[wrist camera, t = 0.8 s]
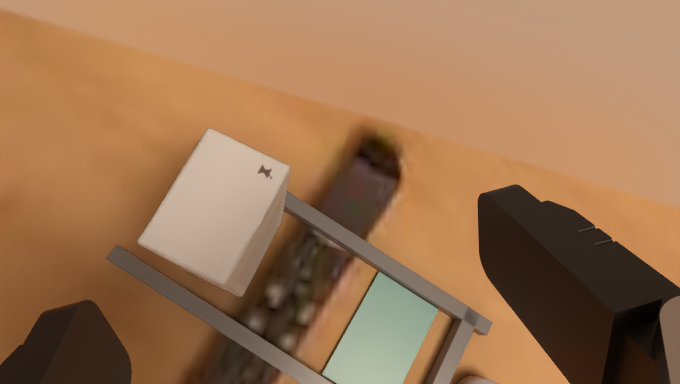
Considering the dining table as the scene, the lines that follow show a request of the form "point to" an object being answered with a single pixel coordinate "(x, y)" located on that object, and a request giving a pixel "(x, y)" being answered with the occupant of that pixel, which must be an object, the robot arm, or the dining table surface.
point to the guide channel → (366, 325)
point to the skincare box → (220, 212)
